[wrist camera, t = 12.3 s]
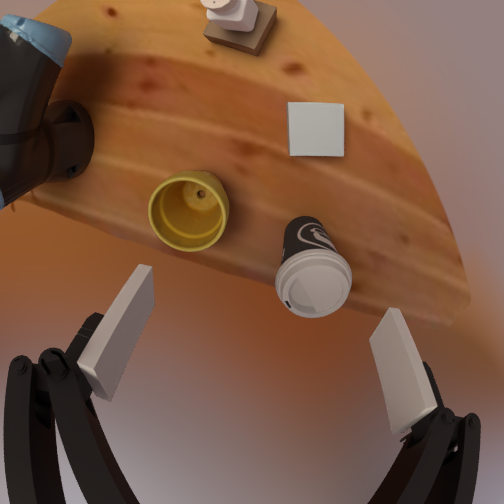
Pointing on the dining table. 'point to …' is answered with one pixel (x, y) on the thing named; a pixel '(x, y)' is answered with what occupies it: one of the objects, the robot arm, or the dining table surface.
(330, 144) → the grey-blue block
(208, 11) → the pepper shaker
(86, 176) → the dining table surface
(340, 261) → the coffee cup
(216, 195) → the plant pot
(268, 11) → the walnut block
